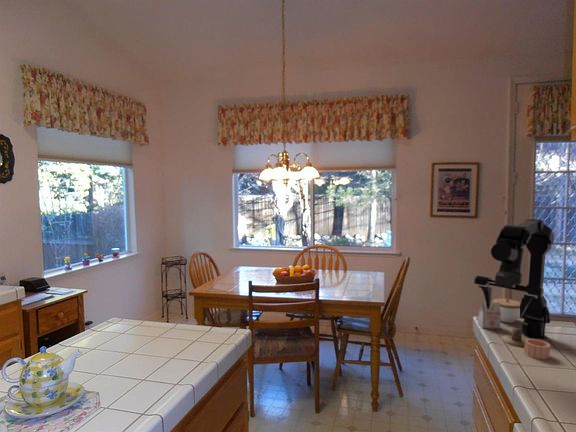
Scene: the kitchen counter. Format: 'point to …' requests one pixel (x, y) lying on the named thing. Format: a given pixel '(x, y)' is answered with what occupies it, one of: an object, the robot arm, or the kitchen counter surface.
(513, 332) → the lid
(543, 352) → the bucket
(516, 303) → the lidded jar
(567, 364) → the kitchen counter surface
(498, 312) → the white red-printed box
